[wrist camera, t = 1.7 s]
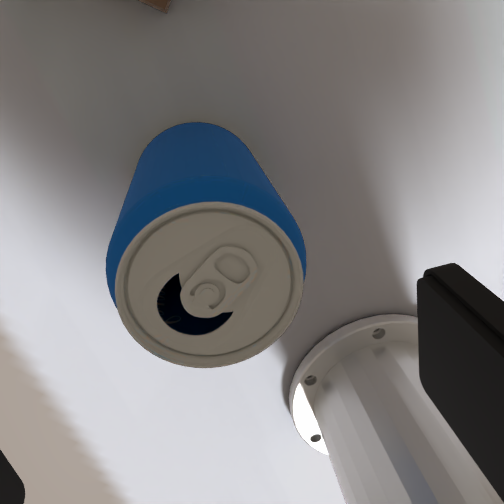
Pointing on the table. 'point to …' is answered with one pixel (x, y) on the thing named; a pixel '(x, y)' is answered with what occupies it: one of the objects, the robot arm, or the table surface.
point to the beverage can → (204, 251)
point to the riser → (158, 4)
